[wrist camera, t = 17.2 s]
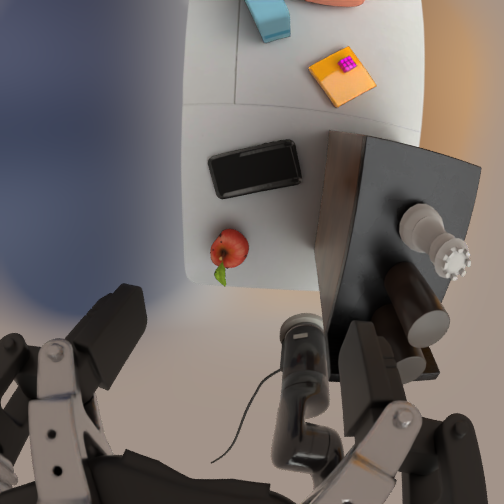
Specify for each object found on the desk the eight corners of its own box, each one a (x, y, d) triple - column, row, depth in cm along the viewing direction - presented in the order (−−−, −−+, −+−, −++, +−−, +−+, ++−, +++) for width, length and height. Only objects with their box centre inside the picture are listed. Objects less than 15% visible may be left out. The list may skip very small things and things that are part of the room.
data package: (291, 38, 35) (290, 12, 25) (265, 45, 37) (256, 21, 26) (266, -12, 31) (258, -45, 20) (241, -5, 32) (227, -36, 22)
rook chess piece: (392, 243, 24) (424, 289, 17) (403, 197, 22) (444, 230, 15) (430, 249, 24) (467, 293, 16) (442, 206, 22) (487, 240, 14)
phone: (303, 183, 45) (217, 200, 49) (302, 182, 46) (219, 198, 50) (293, 137, 42) (206, 157, 45) (293, 137, 43) (208, 156, 46)
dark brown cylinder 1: (397, 301, 27) (420, 354, 19) (376, 280, 26) (399, 333, 19) (425, 278, 25) (456, 326, 18) (406, 254, 24) (438, 301, 17)
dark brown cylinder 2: (382, 336, 29) (398, 390, 22) (364, 319, 28) (378, 375, 21) (410, 316, 27) (432, 367, 20) (392, 296, 26) (415, 350, 19)
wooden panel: (378, 257, 50) (418, 338, 30) (313, 250, 52) (324, 334, 31) (400, 143, 41) (475, 165, 20) (329, 130, 42) (362, 134, 21)
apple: (210, 228, 53) (193, 251, 44) (244, 217, 51) (233, 239, 42) (226, 263, 55) (213, 291, 46) (258, 254, 53) (251, 281, 45)
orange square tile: (373, 87, 37) (380, 84, 33) (335, 108, 40) (340, 106, 36) (346, 49, 35) (351, 42, 31) (308, 69, 38) (309, 64, 34)
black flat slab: (418, 338, 30) (435, 379, 23) (324, 334, 31) (327, 381, 25) (475, 165, 20) (519, 182, 14) (362, 134, 21) (389, 139, 15)
